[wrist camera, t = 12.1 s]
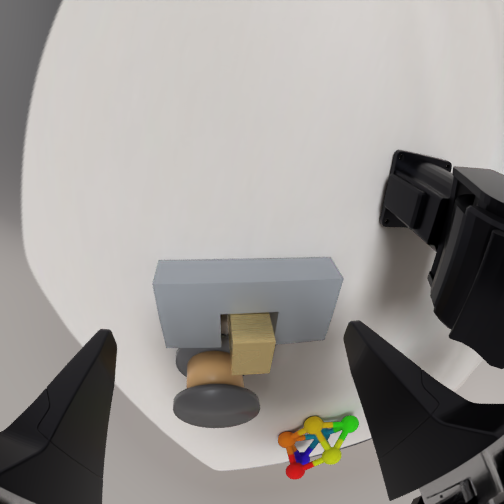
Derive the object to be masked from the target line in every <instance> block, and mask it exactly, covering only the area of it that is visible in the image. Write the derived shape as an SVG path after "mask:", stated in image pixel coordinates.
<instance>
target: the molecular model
mask: <svg viewBox="0 0 504 504" xmlns="http://www.w3.org/2000/svg"><path fill="white" fill-rule="evenodd" d="M358 425H359V421H358V419H357V418H356V417H355V416H351V415H350V416H346V417H344V418H343V419H342V421H341V422H323V421H322V420H321V418H319V417H316V416H312V417H309V418H308V419H307V420H306V421H305V423H304V428H302V429H300V430H299V431H297V432H295V433H292V432H283V433H281V434H280V435H279V437H278V443H279V445H280V446H281V447H284V448H286V450H287V454H288V457H289V461H290V465H289V466H288V467H287V468H286V475H287V476H288V477H289V478H290V479H299V478H301V477H302V476H303V475H304V473H305V470H307V469H310V468H312V467H314V466H317V465H319V464H321V463H324V462H325V463H326V464H335V463H337V462H338V461H339V460H340V459H341V451H340V450H339V448H340V447H341V445H342V443H343V441H344V440H345V438H346V436H347V434H348V433H351V432H354V431H355V430H356V429H357V428H358ZM327 428H331V429H327ZM341 430H342V433H341V435H340V436H339V438H338V440H337V442H336V444H335V445H334V447H331V446H330V444H329V442H328V441H327V440H328V439H329V436H330V434H333V433H336V432H338V431H341ZM305 433H309V434H307V435H303V434H305ZM309 439H314V441H313V442H312V443H311V444H310V446H309V447H308V448H307V449H306V451H305V452H300V453H299V451H298V450H297V448H296V447H295V445H294V444H295V442H296V441H302V440H309ZM318 443H321V445H322V447H323V448H324V450H325V451H324V452H323V454H322V457H321V458H319V459H317V460H314V461H312V462H310V463H309V461H310V457H309V454H310V453H311V452H312V450H313V449H314V448H315V447H316V445H317V444H318ZM294 455H295V456H294Z"/></svg>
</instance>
